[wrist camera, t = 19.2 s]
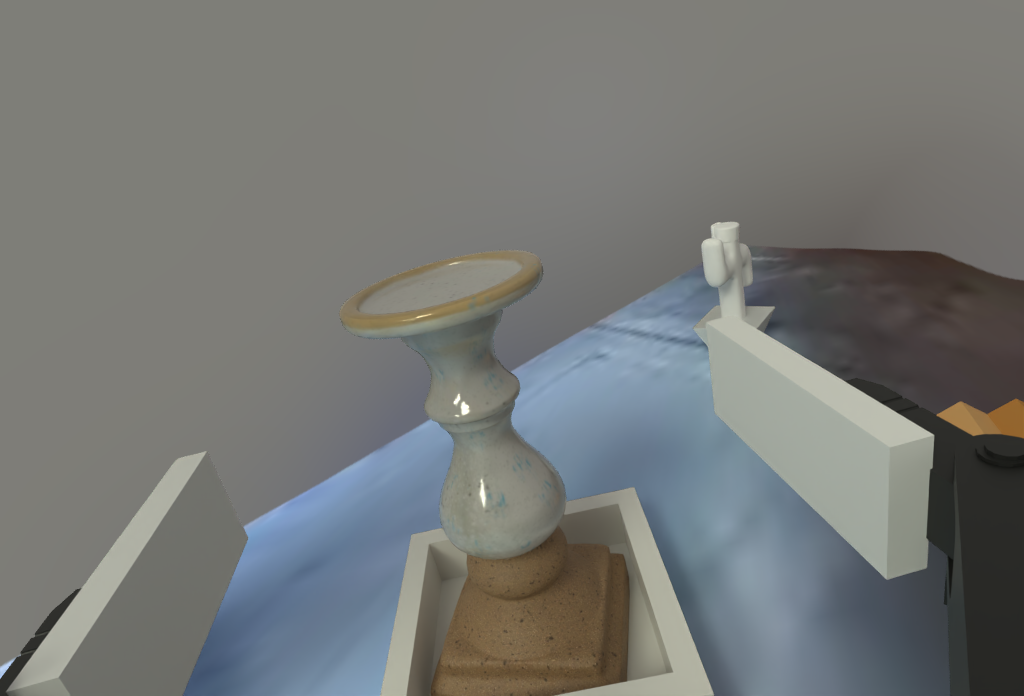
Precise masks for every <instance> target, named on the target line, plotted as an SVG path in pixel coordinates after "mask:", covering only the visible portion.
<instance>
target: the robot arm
mask: <svg viewBox="0 0 1024 696" xmlns="http://www.w3.org/2000/svg"><path fill="white" fill-rule="evenodd" d="M706 331H707V341H708V351H709V361H710V370H711V380H712V390H713V400H714V410H715V414H716V415H717V416H718V417H719V418H720V419H721V420H722V421H723V422H725V423H726V424H727V425H728V426H729V427H730V428H731V429H732V430H733V431H734V432H735V433H736V434H737V435H738V436H739V437H740V438H741V439H742V440H743V441H744V442H745V443H746V444H747V445H748V446H749V447H750V448H751V449H752V450H753V451H754V452H755V453H757V454H758V455H759V456H760V457H761V458H762V459H763V460H764V461H765V462H766V463H767V464H768V465H769V466H770V467H771V468H772V469H773V470H774V471H775V472H776V473H777V474H778V475H779V476H780V477H781V478H782V479H783V480H784V481H785V482H786V483H787V484H788V485H790V486H791V487H792V488H793V489H794V490H795V491H796V492H797V493H798V494H799V495H800V496H801V497H802V498H803V499H804V500H805V501H806V502H807V503H808V504H809V505H810V506H811V507H812V508H813V509H814V510H815V511H816V512H817V513H818V514H819V515H820V516H822V517H823V518H824V519H825V520H826V521H827V522H828V523H829V524H830V525H831V526H832V527H833V528H834V529H835V530H836V531H837V532H838V533H839V534H840V535H841V536H842V537H843V538H844V539H845V540H846V541H847V542H848V543H849V544H850V545H851V546H852V547H854V548H855V549H856V550H857V551H858V552H859V553H860V554H861V555H862V556H863V557H864V558H865V559H866V560H867V561H868V562H869V563H870V564H871V565H872V566H873V567H874V568H875V569H876V570H877V571H878V572H879V573H880V574H881V575H882V576H883V577H884V578H885V579H891V578H894V577H898V576H901V575H905V574H908V573H911V572H915V571H918V570H922V569H925V568H927V559H928V540H929V541H930V542H932V543H933V544H934V545H935V546H937V547H938V548H939V549H940V550H942V551H943V552H944V553H945V554H947V567H946V581H945V595H944V604H945V605H947V608H948V638H949V667H950V696H1024V438H1021V437H1015V436H1009V435H1003V434H981V435H975V436H973V435H971V434H969V433H967V432H965V431H964V430H962V429H960V428H958V427H957V426H955V425H953V424H951V423H949V422H948V421H946V420H944V419H942V418H940V417H939V416H937V415H935V414H933V413H931V412H930V411H928V410H926V409H924V408H919V407H918V405H917V404H915V403H913V402H912V401H910V400H908V399H906V398H905V399H903V398H902V396H901V395H899V394H897V393H896V392H894V391H892V390H890V389H888V388H887V387H885V386H883V385H880V384H876V383H873V382H869V381H865V380H862V379H858V378H855V379H851V380H848V381H843V380H841V379H840V378H838V377H836V376H835V375H833V374H831V373H830V372H828V371H826V370H825V369H823V368H821V367H820V366H818V365H816V364H815V363H813V362H811V361H810V360H808V359H806V358H805V357H803V356H801V355H800V354H798V353H796V352H795V351H793V350H791V349H789V348H788V347H786V346H784V345H783V344H781V343H779V342H778V341H776V340H774V339H773V338H771V337H769V336H768V335H766V334H764V333H763V332H761V331H759V330H758V329H756V328H754V327H753V326H751V325H749V324H748V323H746V322H744V321H743V320H741V319H739V318H738V317H736V316H734V315H731V316H727V317H723V318H719V319H715V320H711V321H708V322H706ZM247 540H248V536H247V534H246V532H245V530H244V528H243V526H242V524H241V522H240V519H239V517H238V515H237V513H236V511H235V509H234V507H233V505H232V502H231V501H230V498H229V496H228V494H227V492H226V490H225V488H224V486H223V483H222V481H221V479H220V477H219V475H218V473H217V471H216V468H215V466H214V464H213V462H212V460H211V458H210V456H209V454H208V452H207V451H206V452H202V453H198V454H194V455H190V456H186V457H182V458H179V459H176V461H175V462H174V463H173V465H172V466H171V467H170V469H169V470H168V472H167V473H166V474H165V476H164V477H163V478H162V480H161V481H160V482H159V484H158V485H157V486H156V488H155V489H154V491H153V492H152V493H151V495H150V496H149V497H148V499H147V500H146V502H145V503H144V505H143V506H142V507H141V508H140V510H139V511H138V512H137V514H136V515H135V516H134V518H133V519H132V521H131V522H130V523H129V525H128V526H127V527H126V529H125V530H124V531H123V533H122V534H121V536H120V537H119V538H118V540H117V541H116V542H115V544H114V545H113V546H112V548H111V549H110V551H109V552H108V553H107V555H106V556H105V557H104V559H103V560H102V561H101V563H100V564H99V566H98V567H97V568H96V570H95V571H94V572H93V574H92V575H91V577H90V578H89V579H88V581H87V582H86V583H85V585H84V586H83V587H82V588H81V589H77V590H75V591H74V593H72V594H71V595H70V596H69V597H68V598H66V599H65V600H64V601H63V602H62V603H61V604H60V605H59V606H57V607H56V608H55V609H54V610H53V611H52V612H51V613H50V614H49V616H48V617H47V618H46V620H45V621H44V622H43V624H42V625H41V626H40V628H39V629H38V630H37V631H36V633H35V637H34V638H31V639H30V641H29V642H28V643H27V645H26V646H25V647H24V648H23V650H22V651H21V656H19V657H17V658H16V659H15V660H14V662H13V663H12V664H11V666H10V667H9V668H8V670H7V671H6V672H5V673H4V675H3V676H2V677H1V679H0V696H183V693H184V691H185V689H186V686H187V684H188V682H189V679H190V677H191V674H192V672H193V670H194V667H195V665H196V662H197V660H198V658H199V655H200V653H201V650H202V648H203V646H204V643H205V641H206V638H207V636H208V634H209V631H210V629H211V626H212V624H213V622H214V619H215V617H216V614H217V612H218V610H219V607H220V605H221V603H222V600H223V598H224V595H225V593H226V591H227V588H228V586H229V583H230V581H231V579H232V576H233V574H234V571H235V569H236V567H237V564H238V562H239V559H240V557H241V555H242V552H243V550H244V547H245V545H246V543H247Z"/></svg>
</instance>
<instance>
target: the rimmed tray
mask: <svg viewBox="0 0 1024 696" xmlns="http://www.w3.org/2000/svg"><path fill="white" fill-rule="evenodd" d="M559 527H560V528H561V529H562V531H563V532H564V534H565V537H566V539H567V543H568V544H580V543H587V544H602V545H606V546H608V547H609V550H610V553H619V554H623V555H624V558H625V561H626V566H627V570H628V575H629V589H630V599H629V632H628V665H627V682H622V683H616V684H611V685H606V686H601V687H596V688H591V689H586V690H581V691H576V692H571V693H565V694H560V695H555V696H714V693H713V691H712V688H711V685H710V683H709V680H708V678H707V675H706V672H705V670H704V667H703V665H702V662H701V659H700V657H699V654H698V652H697V649H696V646H695V644H694V641H693V639H692V636H691V633H690V631H689V628H688V626H687V623H686V620H685V618H684V615H683V613H682V610H681V607H680V605H679V602H678V600H677V597H676V595H675V592H674V589H673V587H672V584H671V582H670V579H669V576H668V574H667V571H666V569H665V566H664V563H663V561H662V558H661V556H660V553H659V550H658V548H657V545H656V543H655V540H654V537H653V535H652V532H651V530H650V527H649V524H648V522H647V519H646V517H645V514H644V511H643V509H642V506H641V504H640V501H639V498H638V496H637V493H636V491H635V488H634V487H632V488H627V489H623V490H618V491H613V492H609V493H604V494H599V495H595V496H590V497H585V498H580V499H576V500H571V501H566V507H565V512H564V515H563V518H562V520H561V522H560V523H559ZM466 563H467V554H466V553H464V552H463V551H461V550H459V549H458V548H456V547H455V546H454V545H453V544H452V543H451V541H450V540H449V539H448V538H447V536H446V535H445V532H444V530H443V528H440V529H435V530H430V531H426V532H421V533H416V534H412V535H411V540H410V545H409V550H408V555H407V561H406V566H405V571H404V576H403V581H402V586H401V592H400V597H399V602H398V607H397V612H396V617H395V622H394V628H393V633H392V638H391V643H390V648H389V653H388V659H387V664H386V669H385V674H384V679H383V684H382V690H381V695H380V696H431V693H430V691H431V685H432V681H433V678H434V674H435V671H436V667H437V664H438V661H439V658H440V656H441V653H442V650H443V646H444V642H445V638H446V635H447V632H448V629H449V626H450V623H451V620H452V617H453V614H454V611H455V608H456V605H457V602H458V599H459V596H460V594H461V591H462V588H463V586H464V583H465V581H466V578H467V576H468V570H467V564H466Z"/></svg>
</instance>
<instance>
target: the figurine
mask: <svg viewBox="0 0 1024 696" xmlns="http://www.w3.org/2000/svg"><path fill="white" fill-rule="evenodd" d="M711 234H712V238H710V239H707V240H705V241H703V243H702V257H703V265H704V273H705V277H706V280H707V282H708V284H709V285H711V286H713V287H718V289H719V298H720V306H715V307H714V308H713V309H712V310H711V311H710V312H708V313H707V314H706V315H705V316H704V317H703V318H702V319H701V320H700V321H699V322H698V323H697V324H696V325H695V326H694V327H693V329H694V331H695V332H696V333H697V334H698V335H699V337H700V338H701V339H702V340H703V341H704V343H705V344H706V345H707V346H708V341H707V331H706V322H708V321H711V320H715V319H719V318H723V317H727V316H731V315H734V316H736V317H738V318H739V319H741V320H743V321H744V322H746V323H748V324H749V325H751V326H753V327H754V328H756V329H758V330H759V331H761V332H763V333H764V331H765V329H766V327H767V325H768V322H769V320H770V318H771V315H772V313H773V311H774V308H775V307H764V306H745V299H744V289H743V287H745V286H749V285H751V284H752V282H753V274H752V262H751V254H750V250H749V248H748V247H747V246H746V245H745V244H742V243H739V223H736V222H724V223H720V222H718V223H715V224H713V225H712V226H711Z"/></svg>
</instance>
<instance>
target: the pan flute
mask: <svg viewBox="0 0 1024 696" xmlns="http://www.w3.org/2000/svg"><path fill="white" fill-rule="evenodd" d="M937 416H939V417H940V418H942V419H944V420H946V421H948V422H949V423H951V424H953V425H955V426H957V427H958V428H960V429H962V430H964V431H965V432H967V433H969V434H971V435H973V436H975V435H981V434H1003V435H1009V436H1015V437H1021V438H1024V402H1022V401H1020V400H1018V399H1014V400H1013V401H1011V402H1009V403H1007V404H1005V405H1003V406H1002V407H1000V408H998V409H996V410H994V411H992V412H991V413H989V414H985V413H983V412H981V411H979V410H977V409H975V408H973V407H971V406H969V405H967V404H965V403H963V402H961V401H960V402H959V403H957V404H955V405H953V406H952V407H950V408H948V409H946V410H944V411H943V412H941V413H939V414H937Z"/></svg>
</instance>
